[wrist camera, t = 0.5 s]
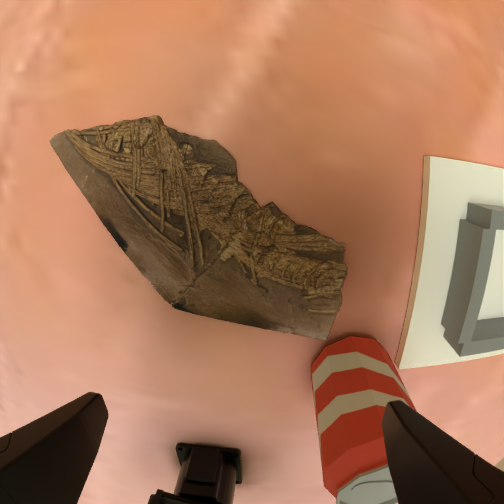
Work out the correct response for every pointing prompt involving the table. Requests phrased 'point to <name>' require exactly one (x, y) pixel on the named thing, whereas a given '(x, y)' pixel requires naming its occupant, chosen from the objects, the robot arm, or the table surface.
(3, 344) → the table surface
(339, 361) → the beverage can
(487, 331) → the can holder
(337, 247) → the brown fossil slab
